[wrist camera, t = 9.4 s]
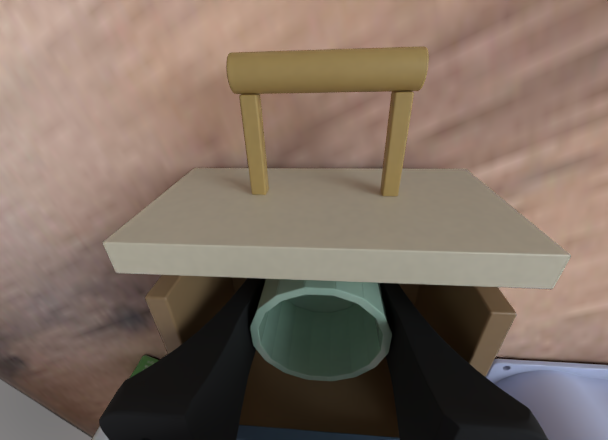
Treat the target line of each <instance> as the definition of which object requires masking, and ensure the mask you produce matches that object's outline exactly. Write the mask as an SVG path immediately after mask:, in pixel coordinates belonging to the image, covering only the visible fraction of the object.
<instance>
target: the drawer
mask: <svg viewBox="0 0 608 440" xmlns="http://www.w3.org/2000/svg"><path fill="white" fill-rule="evenodd" d="M428 61H429V56H428V50H427V48H426V47H394V48H362V49H330V50H298V51H266V52H234V53H229V54H228V57H227V77H228V82H229V85H230V88H231V90H232V92H233V93H234V94H242V95H240V97H239V98H240V106H241V114H242V122H243V129H244V137H245V145H246V153H247V161H248V168H194V169H192V170H191V171H190V172H189V173H188V174H186V175H185V176H184V177H183V178H181V179H180V180H179V181H178V182H176V183H175V184H174V185H173V186H171V187H170V188H169V189H168V190H167V191H165V192H164V193H163V194H162V195H160V196H159V197H158V198H157V199H155V200H154V201H153V202H152V203H150V204H149V205H148V206H147V207H145V208H144V209H143V210H142V211H141V212H139V213H138V214H137V215H136V216H134V217H133V218H132V219H131V220H129V221H128V222H127V223H126V224H124V225H123V226H122V227H121V228H120V229H118V230H117V231H116V232H115V233H113V234H112V235H111V236H110V237H108V238H107V239H106V240H105V241H103V246H104V248H105V250H106V252H107V254H108V257H109V259H110V261H111V263H112V265H113V267H114V270H115V272H116V273H127V274H154V275H161V277H160V278H159V279H158V281H157V282H156V283H155V284H154V286H153V287H152V288H151V290H150V291H149V292H148V293H147V295H146V296H145V300H146V302H147V305H148V307H149V310H150V312H151V314H152V317H153V319H154V322H155V324H156V326H157V329H158V331H159V333H160V336H161V338H162V341H163V343H164V345H165V348H166V350H167V353H168V354H169V353H171V352H172V351H173V350H175V349H176V348H178V347H179V346H180V345H182V344H183V343H184V342H185V341H187V340H188V339H189V338H190V337H192V336H193V335H194V334H195V333H196V332H198V331H199V330H200V329H201V328H202V327H203V326H204V325H205V324H207V323H208V322H209V321H210V320H211V319H212V318H213V317H214V316H215V315H216V314H217V313H218V312H219V311H220V309H221V308H222V307H223V306H224V305H225V304H226V303H227V302H228V301H229V300H230V299H231V297H232V296H233V295H234V294H235V293H236V292H237V290H238V289H239V288H240V287H241V285H242V284H243V283H244V282H245V280H246V279H247V278H263V279H290V280H318V281H345V282H372V283H399V285H400V286H401V288H402V289H403V291H404V292H405V294H406V295H407V297H408V298H409V299H410V301H411V302H412V303H413V305H414V306H415V307H416V309H417V310H418V311H419V312H420V314H421V315H422V316H423V317H424V319H425V320H426V321H427V322H428V323H429V324H430V326H431V327H432V328H433V329H434V330H435V331H436V332H437V333H438V334H439V336H440V337H441V338H442V339H443V340H444V341H445V342H446V343H447V344H448V345H449V346H450V347H451V348H452V349H453V350H454V351H456V352H457V353H458V354H459V355H460V356H461V357H462V358H463V359H464V360H466V361H467V362H468V363H469V364H470V365H471V366H473V367H474V368H475V369H476V370H477V371H478V372H480V373H481V374H482V375H483V376H485V377H486V375H487V373H488V371H489V369H490V367H491V365H492V363H493V361H494V359H495V357H496V355H497V353H498V351H499V349H500V347H501V345H502V343H503V341H504V339H505V337H506V335H507V333H508V331H509V329H510V327H511V325H512V323H513V321H514V319H515V317H516V312H515V310H514V309H513V308H512V306H511V305H510V303H509V302H508V301H507V299H506V298H505V297H504V295H503V294H502V292H501V291H500V290H499V288H498V287H508V288H536V289H553V288H554V286H555V284H556V282H557V281H558V279H559V277H560V275H561V273H562V272H563V270H564V268H565V266H566V264H567V263H568V261H569V259H570V257H571V255H570V254H569V253H568V252H567V251H565V250H564V249H563V248H562V247H561V246H559V245H558V244H557V243H556V242H554V241H553V240H552V239H551V238H550V237H548V236H547V235H546V234H545V233H544V232H542V231H541V230H540V229H539V228H537V227H536V226H535V225H534V224H533V223H531V222H530V221H529V220H528V219H526V218H525V217H524V216H523V215H522V214H520V213H519V212H518V211H517V210H516V209H514V208H513V207H512V206H511V205H509V204H508V203H507V202H506V201H505V200H503V199H502V198H501V197H500V196H498V195H497V194H496V193H495V192H494V191H492V190H491V189H490V188H489V187H487V186H486V185H485V184H484V183H483V182H481V181H480V180H479V179H478V178H477V177H475V176H474V175H473V174H472V173H470V172H469V171H468V170H467V169H402V168H403V161H404V155H405V148H406V142H407V135H408V129H409V122H410V116H411V109H412V103H413V96H414V93H413V92H412V91H418V90H420V89H421V88H422V86H423V84H424V82H425V79H426V75H427V70H428ZM379 91H392V94H391V102H390V111H389V119H388V128H387V136H386V145H385V153H384V161H383V169H353V168H267V162H266V152H265V141H264V131H263V120H262V109H261V99H260V94H272V93H326V92H379ZM239 425H250V426H262V427H275V428H287V429H299V430H312V431H324V432H336V433H349V434H361V435H373V436H386V437H398V438H399V430H398V422H397V415H396V407H395V400H394V393H393V386H392V381H391V376H390V372H389V368H388V364H387V359H386V356H385V357H384V359H383V360H382V361H381V362H380V363H379V364H378V365H377V366H376V367H375V368H374V369H372V370H369V371H367V372H365V373H363V374H361V375H359V376H357V377H355V378H349V379H343V380H337V381H317V380H306V379H303V378H299V377H296V376H293V375H290V374H286V373H284V372H282V371H280V370H279V369H277V368H276V367H274V366H272V365H271V364H269V363H268V362H266V361H265V360H264V359H263V357H262V356H261V355H260V354H259V352H258V351H257V350H256V352H255V355H254V358H253V362H252V365H251V368H250V372H249V376H248V381H247V386H246V391H245V395H244V401H243V406H242V411H241V416H240V422H239Z"/></svg>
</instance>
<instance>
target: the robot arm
mask: <svg viewBox="0 0 608 440" xmlns="http://www.w3.org/2000/svg"><path fill="white" fill-rule="evenodd" d="M263 281H264V279H263V278H247V279H246V280H245V282H244V283H243V284H242V285H241V287H240V288H239V289H238V290H237V292H236V293H235V294H234V295H233V296H232V297H231V299H230V300H229V301H228V302H227V303H226V304H225V305H224V306H223V307H222V308H221V309H220V311H219V312H218V313H217V314H216V315H215V316H214V317H213V318H212V319H211V320H210V321H209V322H208V323H207V324H205V325H204V326H203V327H202V328H201V329H200V330H199V331H198V332H196V333H195V334H194V335H193V336H192V337H190V338H189V339H188V340H187V341H185V342H184V343H183V344H182V345H180V346H179V347H178V348H176V349H175V350H173V351H172V352H171V353H169V354H168V355H166V356H165V357H163V358H162V359H160V360H159V361H157V362H156V363H154V364H153V365H151V366H149V367H148V368H146V369H144V370H143V371H141V372H139V373H137V374H136V375H134V376H132V377H131V378H129V379H127V380H125V381H124V383H123V384H122V385H121V387H120V388H119V389H118V391H117V392H116V394H115V395H114V397H113V399H112V400H111V402H110V403H109V405H108V407H107V408H106V410H105V411H104V413H103V414H102V416H101V418H100V419H99V424H100V427H101V429H102V431H103V433H104V434H105V435H106V436H107V438H108V439H109V440H236V439H237V433H238V428H239V422H240V416H241V411H242V406H243V401H244V395H245V391H246V386H247V381H248V376H249V372H250V368H251V365H252V362H253V358H254V355H255V352H256V348H255V347H254V346H253V342H252V337H251V331H250V324H251V321H252V318H253V314H254V311H255V308H256V304H257V301H258V298H259V295H260V291H261V288H262V285H263ZM381 287H382V291H383V295H384V300H385V304H386V308H387V312H388V317H389V321H390V326H391V330H392V339H391V344H390V349H389V352H388V354H387V355H386V359H387V364H388V368H389V372H390V376H391V381H392V386H393V393H394V400H395V407H396V415H397V422H398V430H399V438H400V440H608V365H601V364H583V363H566V362H548V361H530V360H513V359H494V361H493V363H492V365H491V367H490V369H489V371H488V373H487V375H486V377H485V376H483V375H482V374H481V373H480V372H478V371H477V370H476V369H475V368H474V367H473V366H471V365H470V364H469V363H468V362H467V361H466V360H464V359H463V358H462V357H461V356H460V355H459V354H458V353H457V352H456V351H454V350H453V349H452V348H451V347H450V346H449V345H448V344H447V343H446V342H445V341H444V340H443V339H442V338H441V337H440V336H439V334H438V333H437V332H436V331H435V330H434V329H433V328H432V327H431V326H430V324H429V323H428V322H427V321H426V320H425V319H424V317H423V316H422V315H421V314H420V312H419V311H418V310H417V309H416V307H415V306H414V305H413V303H412V302H411V301H410V299H409V298H408V297H407V295H406V294H405V292H404V291H403V289H402V288H401V286H400V285H399V283H381Z"/></svg>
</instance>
